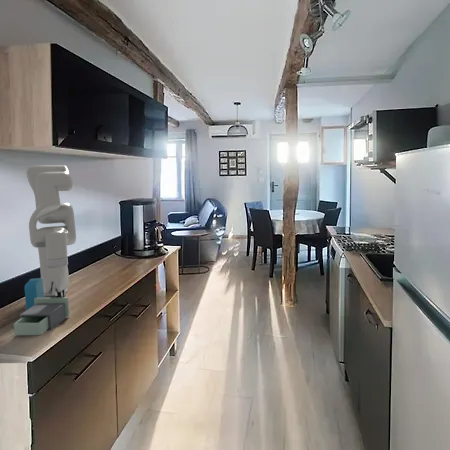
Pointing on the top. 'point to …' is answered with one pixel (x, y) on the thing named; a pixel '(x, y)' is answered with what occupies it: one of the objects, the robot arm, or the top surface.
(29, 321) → the tray
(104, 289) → the top surface
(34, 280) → the data package
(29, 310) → the mailer sleeve
